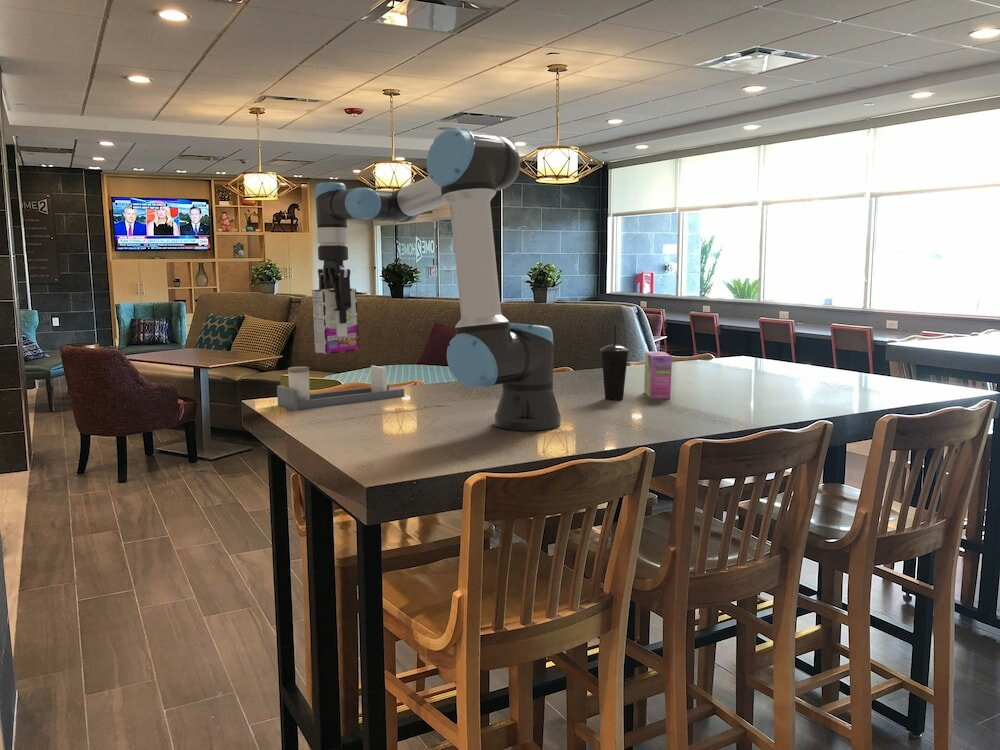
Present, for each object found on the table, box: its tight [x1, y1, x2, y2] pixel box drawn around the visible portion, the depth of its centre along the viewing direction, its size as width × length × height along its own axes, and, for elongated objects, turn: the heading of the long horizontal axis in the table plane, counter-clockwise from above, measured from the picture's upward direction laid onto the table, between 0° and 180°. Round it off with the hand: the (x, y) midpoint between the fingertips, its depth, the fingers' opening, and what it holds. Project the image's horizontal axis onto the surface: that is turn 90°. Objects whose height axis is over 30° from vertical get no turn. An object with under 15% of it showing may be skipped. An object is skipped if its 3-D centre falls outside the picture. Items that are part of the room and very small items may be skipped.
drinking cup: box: [599, 324, 630, 401], centre depth 214 cm, size 8×8×20 cm
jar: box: [287, 366, 311, 401], centre depth 201 cm, size 5×5×10 cm
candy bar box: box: [311, 287, 359, 355], centre depth 205 cm, size 11×5×16 cm, turn 142°
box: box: [643, 351, 673, 400], centre depth 219 cm, size 10×6×12 cm, turn 179°
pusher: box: [370, 365, 388, 392], centre depth 216 cm, size 7×4×8 cm, turn 38°
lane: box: [276, 384, 406, 412], centre depth 209 cm, size 10×32×6 cm, turn 128°
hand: (336, 335), depth 206 cm, fingers closed on candy bar box, 6 cm apart
